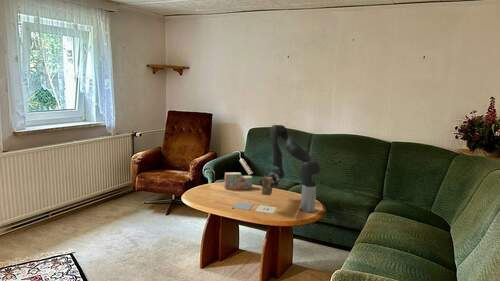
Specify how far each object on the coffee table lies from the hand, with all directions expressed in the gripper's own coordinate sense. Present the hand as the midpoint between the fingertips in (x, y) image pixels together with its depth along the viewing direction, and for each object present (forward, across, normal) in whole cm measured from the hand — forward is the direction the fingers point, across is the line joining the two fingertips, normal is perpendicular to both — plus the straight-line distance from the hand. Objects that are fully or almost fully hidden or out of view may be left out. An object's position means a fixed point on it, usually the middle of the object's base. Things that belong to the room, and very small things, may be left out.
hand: (266, 185), depth 240 cm
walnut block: (-3, 0, +6) cm, 7 cm away
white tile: (-3, 0, +18) cm, 18 cm away
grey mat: (-3, -16, +17) cm, 24 cm away
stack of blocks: (-44, -33, +18) cm, 58 cm away
